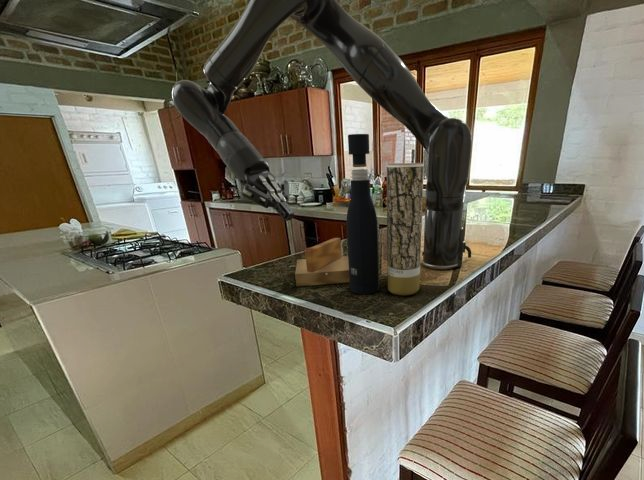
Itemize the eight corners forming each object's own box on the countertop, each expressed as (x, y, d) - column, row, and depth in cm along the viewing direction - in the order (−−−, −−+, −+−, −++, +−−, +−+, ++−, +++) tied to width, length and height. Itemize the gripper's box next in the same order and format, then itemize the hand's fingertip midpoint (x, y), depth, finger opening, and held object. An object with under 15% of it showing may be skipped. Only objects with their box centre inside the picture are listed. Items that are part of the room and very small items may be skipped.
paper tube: (410, 299, 68) (414, 163, 57) (381, 293, 71) (379, 164, 60) (424, 288, 73) (429, 162, 62) (396, 283, 76) (397, 163, 65)
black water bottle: (380, 284, 76) (377, 134, 63) (377, 294, 70) (374, 132, 57) (352, 283, 77) (343, 136, 64) (347, 294, 71) (337, 134, 58)
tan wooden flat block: (336, 256, 87) (334, 236, 84) (341, 257, 86) (340, 236, 84) (307, 271, 76) (304, 248, 74) (312, 272, 75) (310, 249, 73)
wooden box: (357, 263, 91) (356, 252, 90) (365, 285, 76) (365, 271, 74) (293, 268, 89) (291, 256, 88) (288, 291, 74) (286, 277, 72)
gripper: (222, 145, 68) (275, 210, 67) (271, 145, 78) (317, 202, 77) (212, 173, 72) (261, 234, 72) (259, 170, 83) (302, 224, 82)
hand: (290, 217), depth 75 cm, fingers closed
